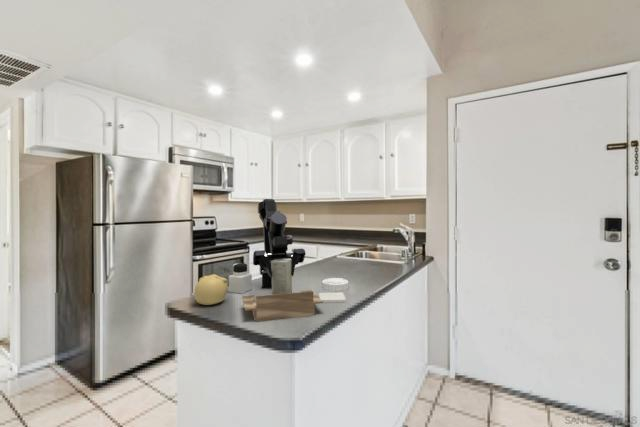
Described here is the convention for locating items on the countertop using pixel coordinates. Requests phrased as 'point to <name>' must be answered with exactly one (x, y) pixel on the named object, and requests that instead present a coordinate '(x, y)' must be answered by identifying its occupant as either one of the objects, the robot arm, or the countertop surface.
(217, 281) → the yellow round lump
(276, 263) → the skincare box
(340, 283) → the round white container
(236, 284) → the medicine bottle
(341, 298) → the pad
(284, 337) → the countertop surface
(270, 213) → the robot arm
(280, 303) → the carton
